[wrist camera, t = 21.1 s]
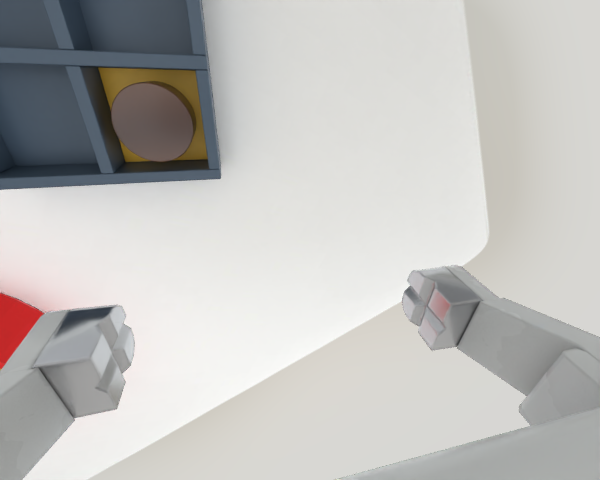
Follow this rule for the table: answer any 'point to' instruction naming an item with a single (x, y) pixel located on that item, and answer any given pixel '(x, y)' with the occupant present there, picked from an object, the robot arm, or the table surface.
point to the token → (153, 120)
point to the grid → (97, 89)
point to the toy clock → (14, 324)
